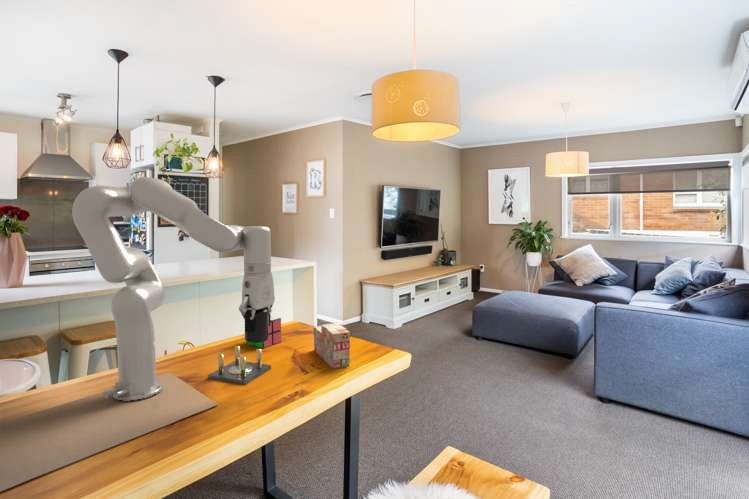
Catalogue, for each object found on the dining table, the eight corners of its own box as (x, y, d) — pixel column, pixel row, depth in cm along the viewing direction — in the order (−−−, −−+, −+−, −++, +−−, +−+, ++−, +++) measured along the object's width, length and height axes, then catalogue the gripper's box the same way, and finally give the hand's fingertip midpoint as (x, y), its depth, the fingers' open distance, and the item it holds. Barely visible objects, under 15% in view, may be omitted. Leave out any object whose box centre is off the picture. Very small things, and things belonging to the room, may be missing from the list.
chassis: (245, 384, 129) (245, 361, 128) (208, 378, 133) (207, 356, 132) (271, 368, 142) (270, 347, 141) (236, 363, 146) (235, 343, 146)
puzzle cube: (281, 342, 171) (281, 317, 170) (263, 348, 162) (262, 323, 161) (264, 338, 176) (264, 314, 175) (245, 344, 168) (244, 319, 167)
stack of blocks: (313, 350, 161) (313, 318, 160) (329, 348, 164) (329, 317, 163) (332, 369, 142) (332, 333, 141) (350, 366, 145) (350, 331, 144)
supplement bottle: (243, 344, 120) (243, 302, 119) (245, 336, 127) (245, 297, 126) (268, 342, 122) (268, 301, 121) (268, 335, 128) (268, 297, 127)
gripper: (250, 273, 113) (250, 338, 114) (284, 266, 129) (284, 323, 131) (226, 271, 115) (227, 335, 117) (263, 264, 132) (264, 320, 133)
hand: (257, 328), depth 124 cm, fingers closed on supplement bottle, 6 cm apart
